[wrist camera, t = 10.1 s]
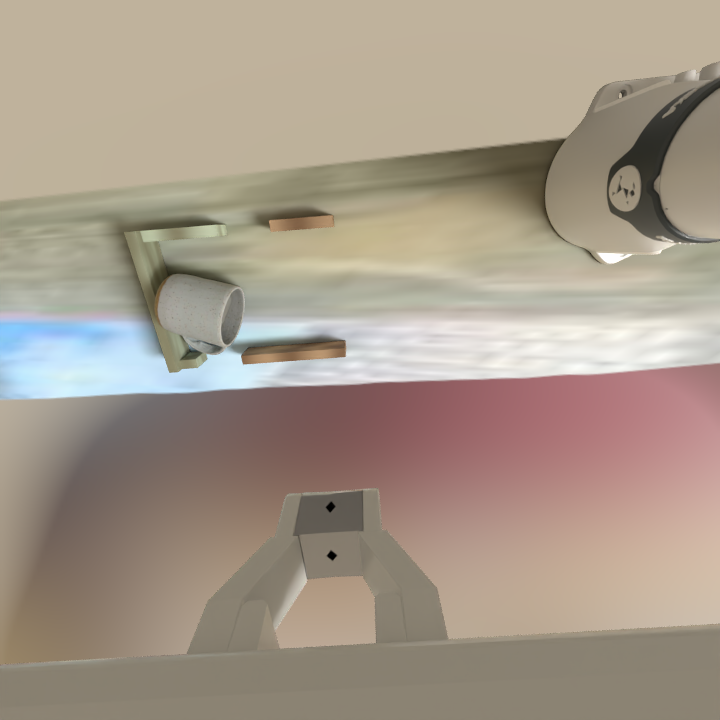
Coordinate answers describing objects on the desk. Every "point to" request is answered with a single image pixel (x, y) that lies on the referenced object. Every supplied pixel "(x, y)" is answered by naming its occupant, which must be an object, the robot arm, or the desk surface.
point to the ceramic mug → (200, 311)
